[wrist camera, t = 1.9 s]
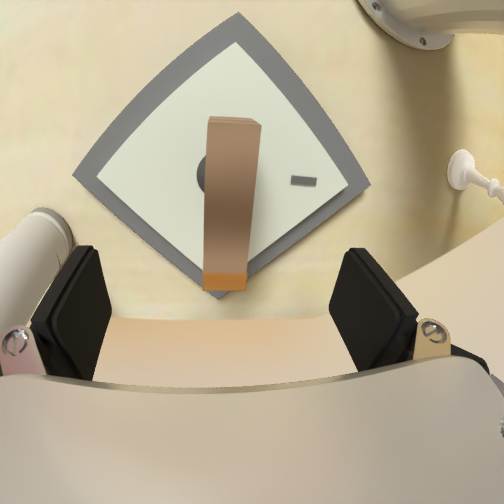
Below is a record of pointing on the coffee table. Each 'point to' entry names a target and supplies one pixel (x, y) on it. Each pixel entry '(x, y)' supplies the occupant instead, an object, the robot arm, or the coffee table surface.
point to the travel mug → (30, 264)
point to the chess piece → (470, 175)
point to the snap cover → (194, 151)
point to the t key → (229, 200)
